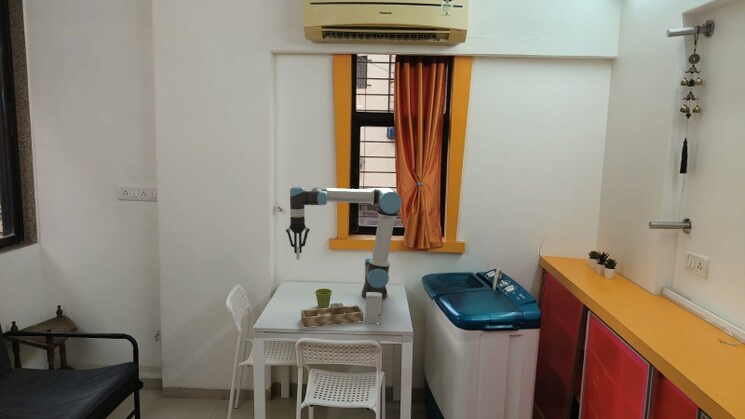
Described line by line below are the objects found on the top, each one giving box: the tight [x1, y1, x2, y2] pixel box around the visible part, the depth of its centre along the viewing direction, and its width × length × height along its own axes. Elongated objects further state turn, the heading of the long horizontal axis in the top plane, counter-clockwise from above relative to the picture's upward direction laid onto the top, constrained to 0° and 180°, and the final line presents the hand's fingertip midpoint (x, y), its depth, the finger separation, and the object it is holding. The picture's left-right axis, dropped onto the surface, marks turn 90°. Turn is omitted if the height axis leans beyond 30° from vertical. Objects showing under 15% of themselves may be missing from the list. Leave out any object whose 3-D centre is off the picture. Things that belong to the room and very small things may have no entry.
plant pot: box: [314, 288, 333, 309], centre depth 248 cm, size 9×9×9 cm
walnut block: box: [329, 302, 344, 315], centre depth 230 cm, size 6×6×5 cm
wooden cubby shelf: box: [300, 304, 364, 328], centre depth 230 cm, size 30×10×5 cm, turn 106°
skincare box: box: [364, 292, 383, 325], centre depth 229 cm, size 8×6×15 cm
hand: (298, 258), depth 246 cm, fingers closed
